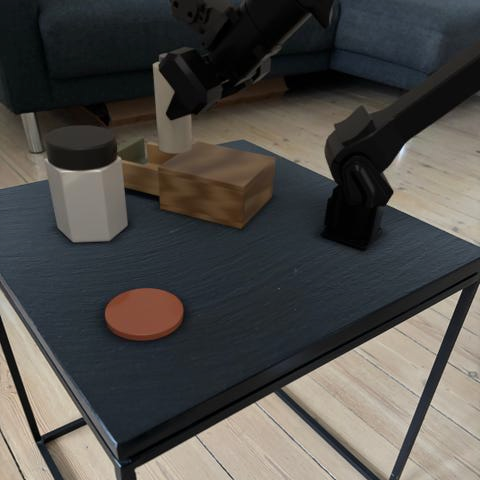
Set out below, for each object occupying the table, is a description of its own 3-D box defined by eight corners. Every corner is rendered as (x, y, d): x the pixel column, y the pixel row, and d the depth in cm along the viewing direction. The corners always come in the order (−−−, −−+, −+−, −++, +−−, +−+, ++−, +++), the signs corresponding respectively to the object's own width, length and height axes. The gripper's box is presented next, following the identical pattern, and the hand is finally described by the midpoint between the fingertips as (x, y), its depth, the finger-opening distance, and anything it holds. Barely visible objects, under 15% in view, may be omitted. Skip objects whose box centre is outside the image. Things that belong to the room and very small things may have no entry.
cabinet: (159, 208, 73) (157, 167, 69) (197, 179, 81) (197, 141, 78) (241, 229, 69) (243, 186, 66) (272, 196, 78) (275, 157, 74)
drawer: (94, 184, 76) (90, 155, 73) (133, 161, 84) (131, 134, 81) (169, 203, 72) (168, 173, 70) (203, 177, 80) (203, 149, 77)
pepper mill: (198, 145, 69) (196, 55, 62) (179, 156, 66) (175, 61, 59) (171, 139, 70) (166, 49, 63) (151, 149, 67) (144, 56, 60)
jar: (138, 232, 67) (130, 141, 60) (79, 251, 63) (63, 155, 56) (105, 207, 73) (94, 119, 65) (49, 222, 68) (31, 131, 61)
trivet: (199, 311, 55) (198, 305, 54) (148, 352, 49) (147, 345, 49) (142, 285, 58) (141, 279, 57) (88, 320, 53) (87, 314, 52)
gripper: (252, -51, 60) (173, 44, 70) (170, -45, 46) (87, 72, 56) (309, 33, 62) (225, 113, 72) (247, 63, 49) (154, 156, 59)
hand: (177, 112), depth 65 cm, fingers closed on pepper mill, 4 cm apart
